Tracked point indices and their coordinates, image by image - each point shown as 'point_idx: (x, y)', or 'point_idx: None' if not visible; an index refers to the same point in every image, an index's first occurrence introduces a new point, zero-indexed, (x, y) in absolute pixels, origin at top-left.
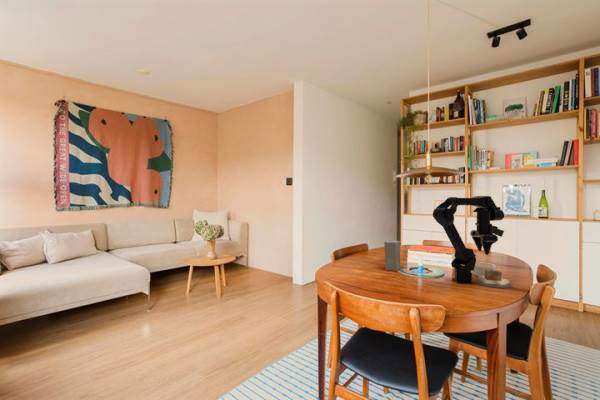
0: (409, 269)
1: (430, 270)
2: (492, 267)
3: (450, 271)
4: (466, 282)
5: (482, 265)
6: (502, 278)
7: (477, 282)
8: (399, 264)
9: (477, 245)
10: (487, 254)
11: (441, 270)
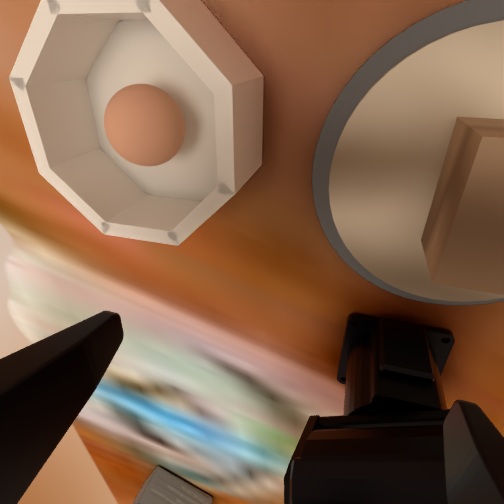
0: (166, 446)
1: (159, 384)
2: (232, 89)
3: (151, 304)
4: (444, 363)
5: (133, 145)
6: (446, 60)
7: (457, 303)
8: (163, 497)
9: (55, 432)
10: (473, 414)
11: (142, 338)
